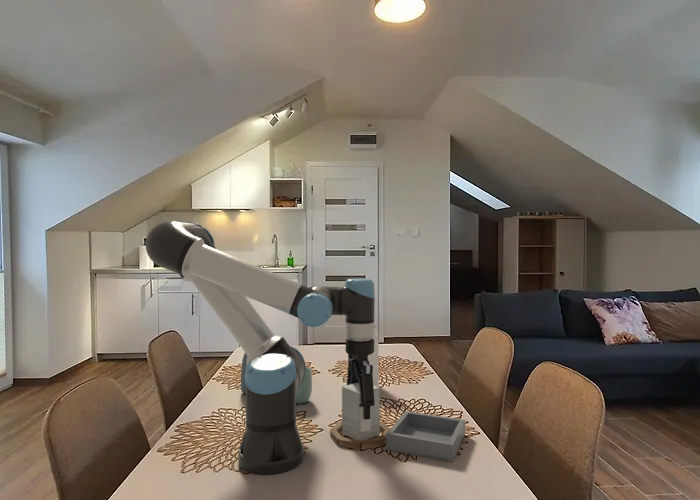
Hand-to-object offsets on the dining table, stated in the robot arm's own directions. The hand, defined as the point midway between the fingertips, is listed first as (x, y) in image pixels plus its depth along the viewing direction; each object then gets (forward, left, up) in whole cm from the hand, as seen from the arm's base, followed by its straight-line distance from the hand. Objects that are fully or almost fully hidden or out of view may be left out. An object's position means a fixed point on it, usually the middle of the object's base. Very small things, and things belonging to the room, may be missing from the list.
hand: (359, 423), depth 122 cm
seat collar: (0, 0, -3) cm, 3 cm away
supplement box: (0, 0, -3) cm, 3 cm away
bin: (+3, -17, -3) cm, 18 cm away
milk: (+38, +12, -3) cm, 40 cm away
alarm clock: (+24, +44, -4) cm, 51 cm away
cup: (+16, +27, -4) cm, 32 cm away
